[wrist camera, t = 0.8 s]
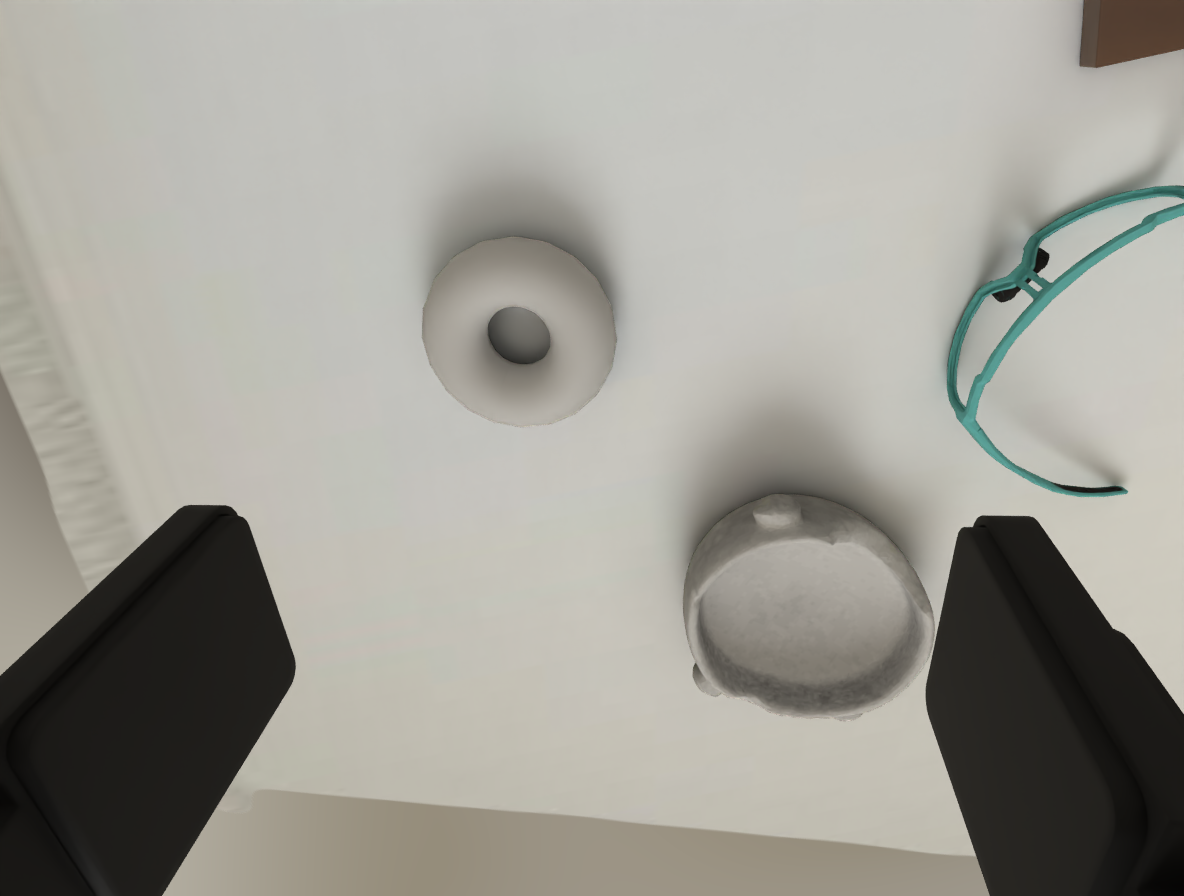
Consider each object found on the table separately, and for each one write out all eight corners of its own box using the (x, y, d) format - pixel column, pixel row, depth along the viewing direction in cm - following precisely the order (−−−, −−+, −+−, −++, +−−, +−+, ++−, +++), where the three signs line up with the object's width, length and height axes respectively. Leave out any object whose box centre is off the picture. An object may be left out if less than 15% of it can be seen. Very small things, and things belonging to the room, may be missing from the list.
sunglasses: (1123, 116, 32) (1201, 138, 27) (1325, 305, 36) (1419, 349, 31) (881, 365, 38) (913, 413, 34) (1075, 500, 42) (1125, 559, 38)
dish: (735, 451, 42) (740, 500, 37) (964, 532, 42) (995, 589, 38) (645, 631, 49) (640, 690, 44) (842, 698, 49) (856, 762, 45)
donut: (619, 229, 37) (421, 227, 38) (614, 246, 34) (398, 244, 35) (619, 412, 41) (443, 407, 42) (614, 442, 38) (425, 436, 39)
